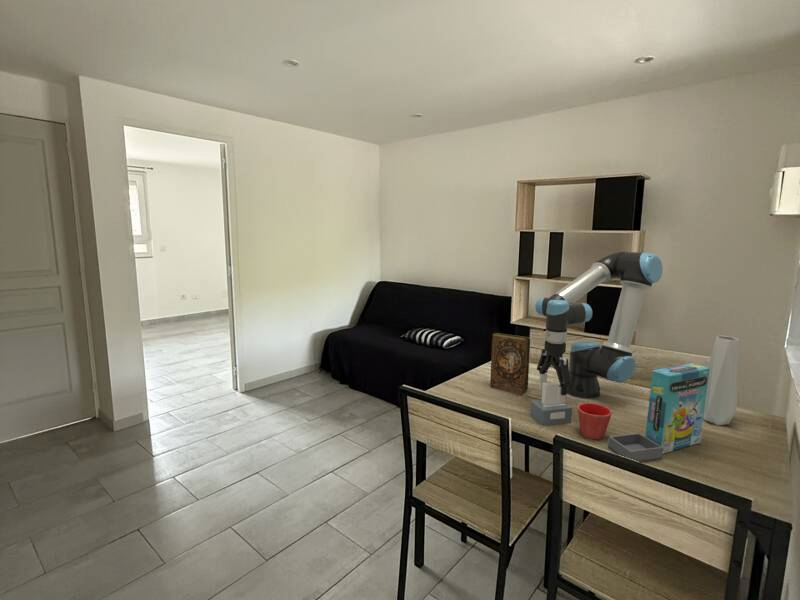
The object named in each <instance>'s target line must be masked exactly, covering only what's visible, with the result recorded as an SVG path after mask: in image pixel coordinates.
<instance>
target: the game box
mask: <svg viewBox="0 0 800 600" xmlns="http://www.w3.org/2000/svg"><path fill="white" fill-rule="evenodd" d="M709 370H710V368H708V366H705V365H702V364H697V363H694V362H690V363H686V364H681V365H675V366H669V367H665V368H659V369H652V370H651V371H652V373H651V380H650V391H649V400H648V411H647V420H646V427H645V428H646V429H645V435H644V436H645V437H647V438H648V439H650V440H652V441H653V442H655V443H656V444H658V445H660V446H661V447H663V454H662V455H664V454H666V453H670V452H673V451H676V450H679V449H680V450H681V449H683V448H687V447H691V446H694V445H697V444H700V443H701V437H702V432H703V431H702V430H703V423H704V418H703V416H704V409H705V401H706V393H707V385H708V377H709Z"/></svg>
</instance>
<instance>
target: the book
mask: <svg viewBox="0 0 800 600" xmlns="http://www.w3.org/2000/svg"><path fill="white" fill-rule="evenodd" d="M491 337H492V338H491V356H490V357H491V360H490V361H491V362H490V386H489V387H490V389H494V390H500V391H504V392H507V393H513V394H517V395H524V393H525V392H526V391H527V390H528V388H529V376H530V375H529V374H530V371H529V370H530V355H531V353H530V352H531V351H530V350H531V337H528V336H522V335H521V336H520V335H515V334H514V335H513V334H508V333H507V334H506V333H500V332H496V333H495V332H494V333H492V334H491Z"/></svg>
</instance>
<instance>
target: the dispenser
mask: <svg viewBox="0 0 800 600" xmlns="http://www.w3.org/2000/svg"><path fill="white" fill-rule="evenodd" d="M541 401H542V399H540V400H539V399H538V400H537V399H536V400H531V401H530V409H529V411H530V413H529V414H530V415H529V416H530V417H532V419H534V420H535V421H536V422H538V424H540V425H541V426H542V425H545V426H552V425H551V424H555V425H562V424H571V423H572V417H573V416H572V415H573V407H571V406H570V405H569V404H567V403H566V402H565V403H561V404H559V405H548V406H542V405H541Z"/></svg>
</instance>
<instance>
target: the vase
mask: <svg viewBox="0 0 800 600" xmlns="http://www.w3.org/2000/svg"><path fill="white" fill-rule="evenodd" d="M739 361H740V339H739V338H737V337H735V336H728V335H717V336H716V338H715V342H714V345H713V348H712V352H711V355H710V358H709V362H708V365H707V367H708V368H710V370H709V377H708V385H707V393H706V401H705V409H704V416H703V421H705V422H708V423H711V424H714V425H716V426H726V424H727V425H729V424H730V423H731V421H732V420H733V417H734V415H735V413H736V411H737V405H738V386H739V363H740V362H739Z"/></svg>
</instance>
